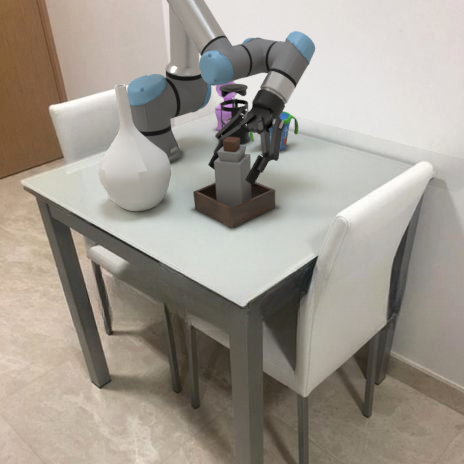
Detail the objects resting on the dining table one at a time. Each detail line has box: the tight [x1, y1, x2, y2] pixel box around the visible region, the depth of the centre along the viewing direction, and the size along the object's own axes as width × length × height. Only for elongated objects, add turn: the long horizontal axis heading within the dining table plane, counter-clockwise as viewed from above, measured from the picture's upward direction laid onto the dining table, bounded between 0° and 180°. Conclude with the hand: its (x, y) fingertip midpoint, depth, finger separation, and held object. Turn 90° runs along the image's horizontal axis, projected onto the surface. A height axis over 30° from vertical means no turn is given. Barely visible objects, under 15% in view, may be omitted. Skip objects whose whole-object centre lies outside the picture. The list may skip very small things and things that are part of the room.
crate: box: [193, 181, 276, 229], centre depth 128 cm, size 15×15×5 cm
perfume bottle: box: [213, 137, 252, 207], centre depth 124 cm, size 7×7×18 cm
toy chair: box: [214, 81, 238, 131], centre depth 176 cm, size 8×9×15 cm
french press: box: [219, 81, 251, 145], centre depth 162 cm, size 12×9×23 cm
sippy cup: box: [249, 110, 299, 151], centre depth 159 cm, size 16×10×10 cm
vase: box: [98, 83, 172, 212], centre depth 125 cm, size 18×18×30 cm
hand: (229, 175), depth 123 cm, fingers open, 13 cm apart
